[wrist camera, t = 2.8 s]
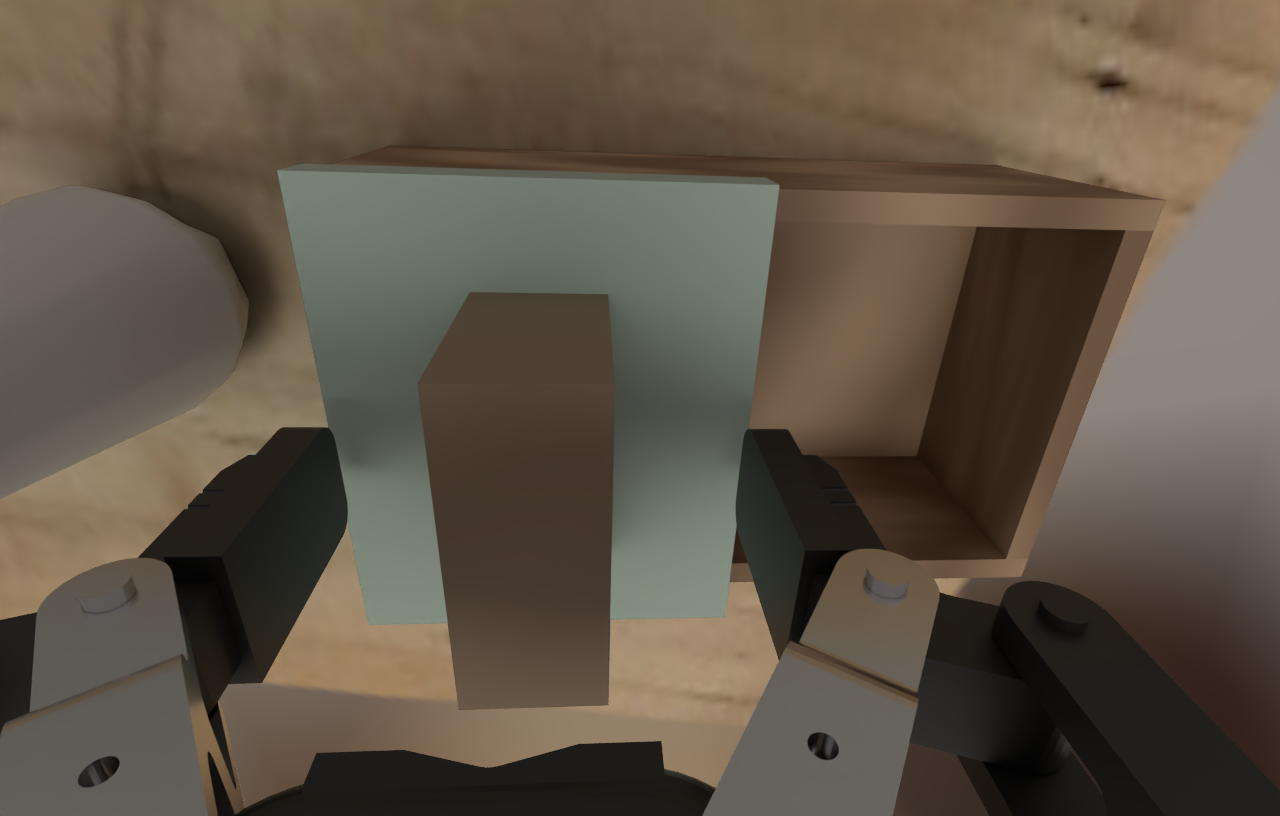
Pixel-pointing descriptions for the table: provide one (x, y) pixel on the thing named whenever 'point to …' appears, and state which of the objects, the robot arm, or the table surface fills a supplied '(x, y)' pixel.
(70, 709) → the robot arm
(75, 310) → the salt shaker
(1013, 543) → the box
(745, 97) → the table surface
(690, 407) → the lid
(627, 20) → the table surface
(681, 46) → the table surface
